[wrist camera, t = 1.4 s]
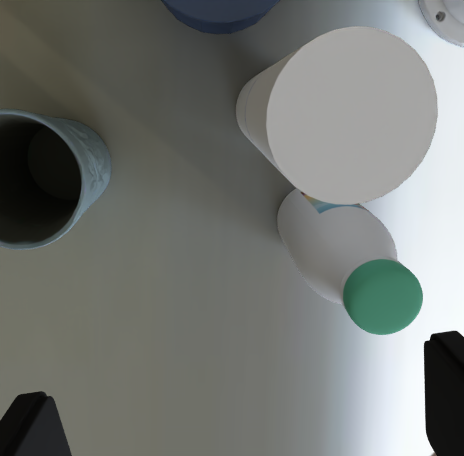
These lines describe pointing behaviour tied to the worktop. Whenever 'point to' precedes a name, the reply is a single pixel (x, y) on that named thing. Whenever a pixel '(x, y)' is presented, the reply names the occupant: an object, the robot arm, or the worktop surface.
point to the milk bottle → (350, 261)
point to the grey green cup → (46, 176)
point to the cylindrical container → (343, 114)
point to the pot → (214, 27)
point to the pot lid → (221, 9)
